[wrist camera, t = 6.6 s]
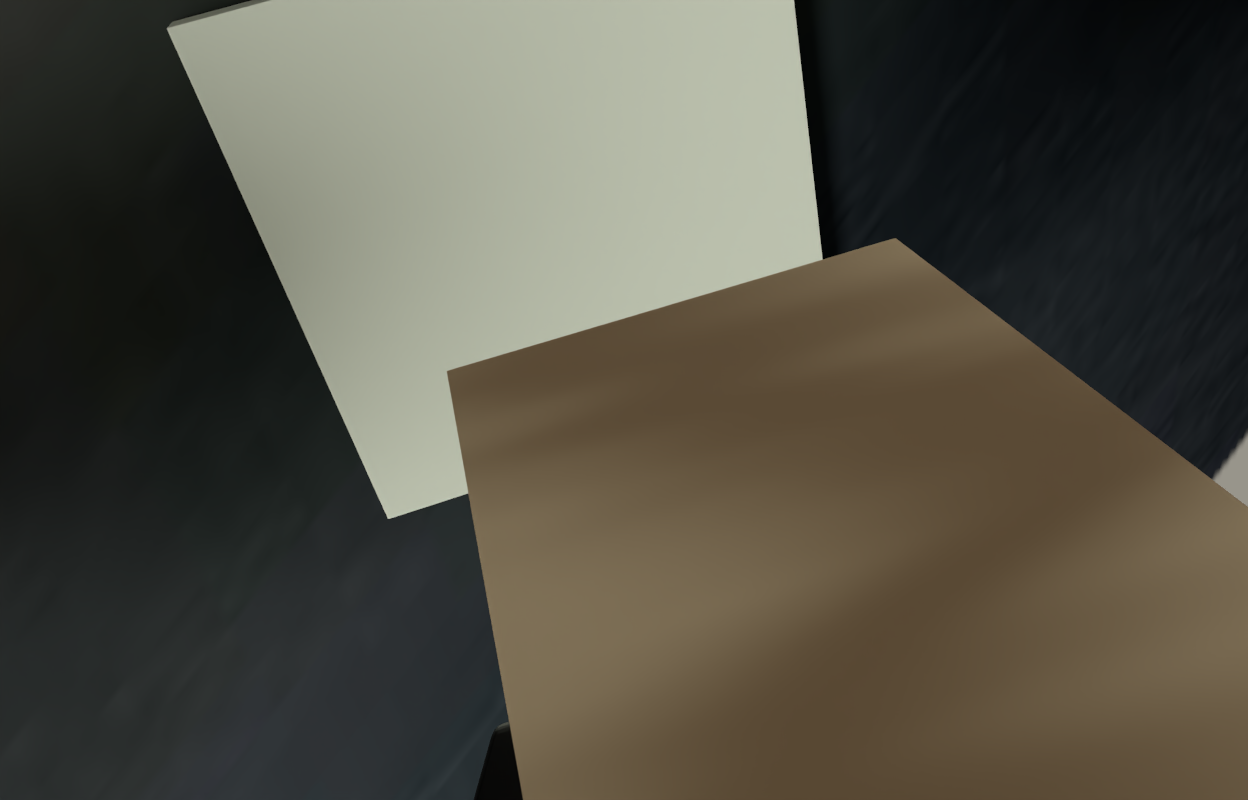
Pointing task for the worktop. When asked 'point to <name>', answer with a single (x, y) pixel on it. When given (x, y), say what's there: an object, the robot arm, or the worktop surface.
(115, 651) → the worktop surface
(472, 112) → the sage mat
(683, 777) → the maple block
